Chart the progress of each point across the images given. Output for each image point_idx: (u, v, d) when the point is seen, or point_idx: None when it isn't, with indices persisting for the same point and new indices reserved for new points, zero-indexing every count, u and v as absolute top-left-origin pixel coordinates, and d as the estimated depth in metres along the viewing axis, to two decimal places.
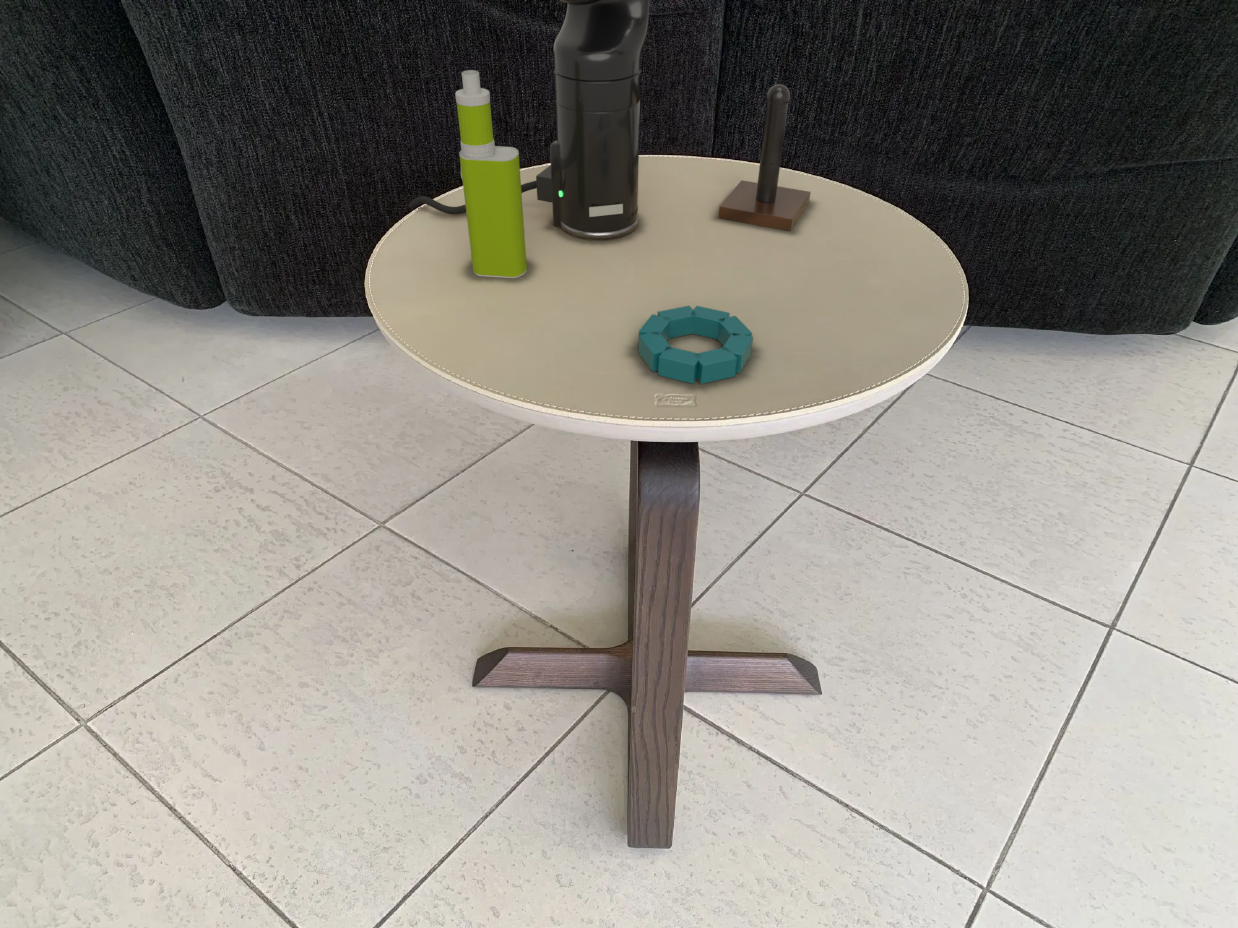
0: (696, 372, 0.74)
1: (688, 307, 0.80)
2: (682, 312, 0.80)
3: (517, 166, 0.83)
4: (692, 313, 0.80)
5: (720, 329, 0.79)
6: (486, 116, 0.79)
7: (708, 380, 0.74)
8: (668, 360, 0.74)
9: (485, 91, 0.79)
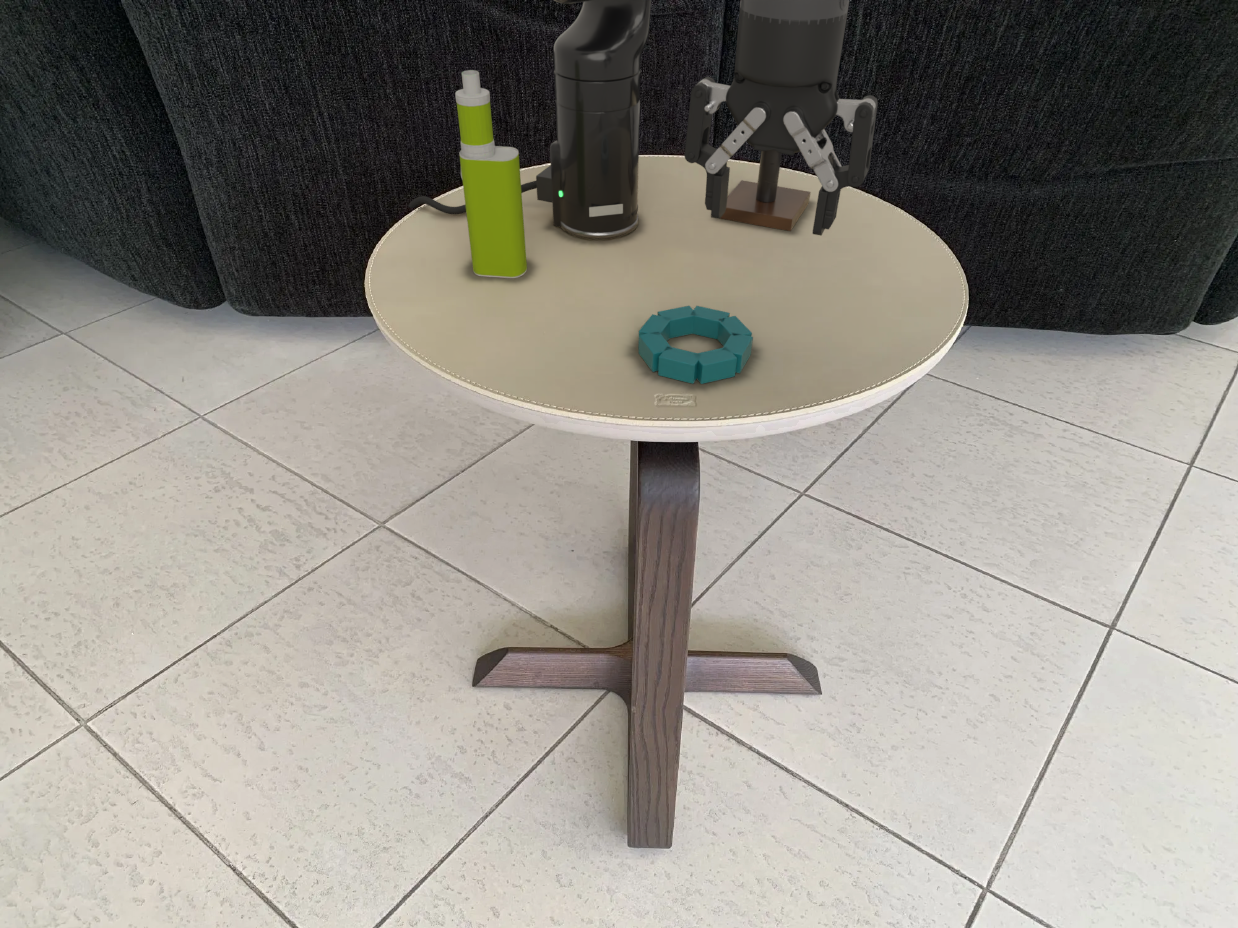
0: (696, 372, 0.74)
1: (688, 307, 0.80)
2: (682, 312, 0.80)
3: (517, 166, 0.83)
4: (692, 313, 0.80)
5: (720, 329, 0.79)
6: (486, 116, 0.79)
7: (708, 380, 0.74)
8: (668, 360, 0.74)
9: (485, 91, 0.79)
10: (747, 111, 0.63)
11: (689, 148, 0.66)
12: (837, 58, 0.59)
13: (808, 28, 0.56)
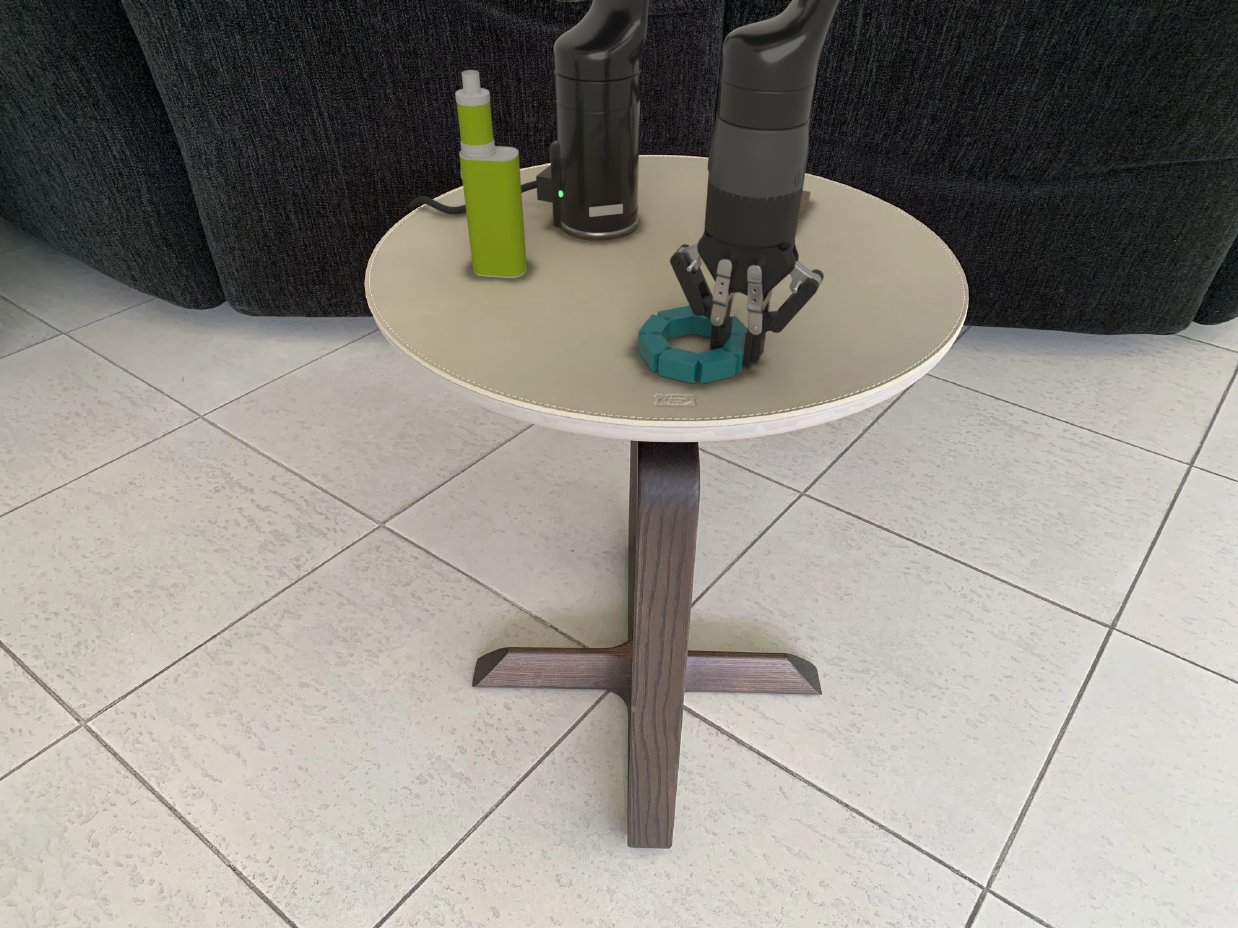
0: (696, 372, 0.74)
1: (688, 307, 0.80)
2: (682, 312, 0.80)
3: (517, 166, 0.83)
4: (692, 313, 0.80)
5: None
6: (486, 116, 0.79)
7: (708, 380, 0.74)
8: (668, 360, 0.74)
9: (485, 91, 0.79)
10: (716, 260, 0.70)
11: (696, 303, 0.73)
12: (794, 223, 0.66)
13: (766, 203, 0.63)
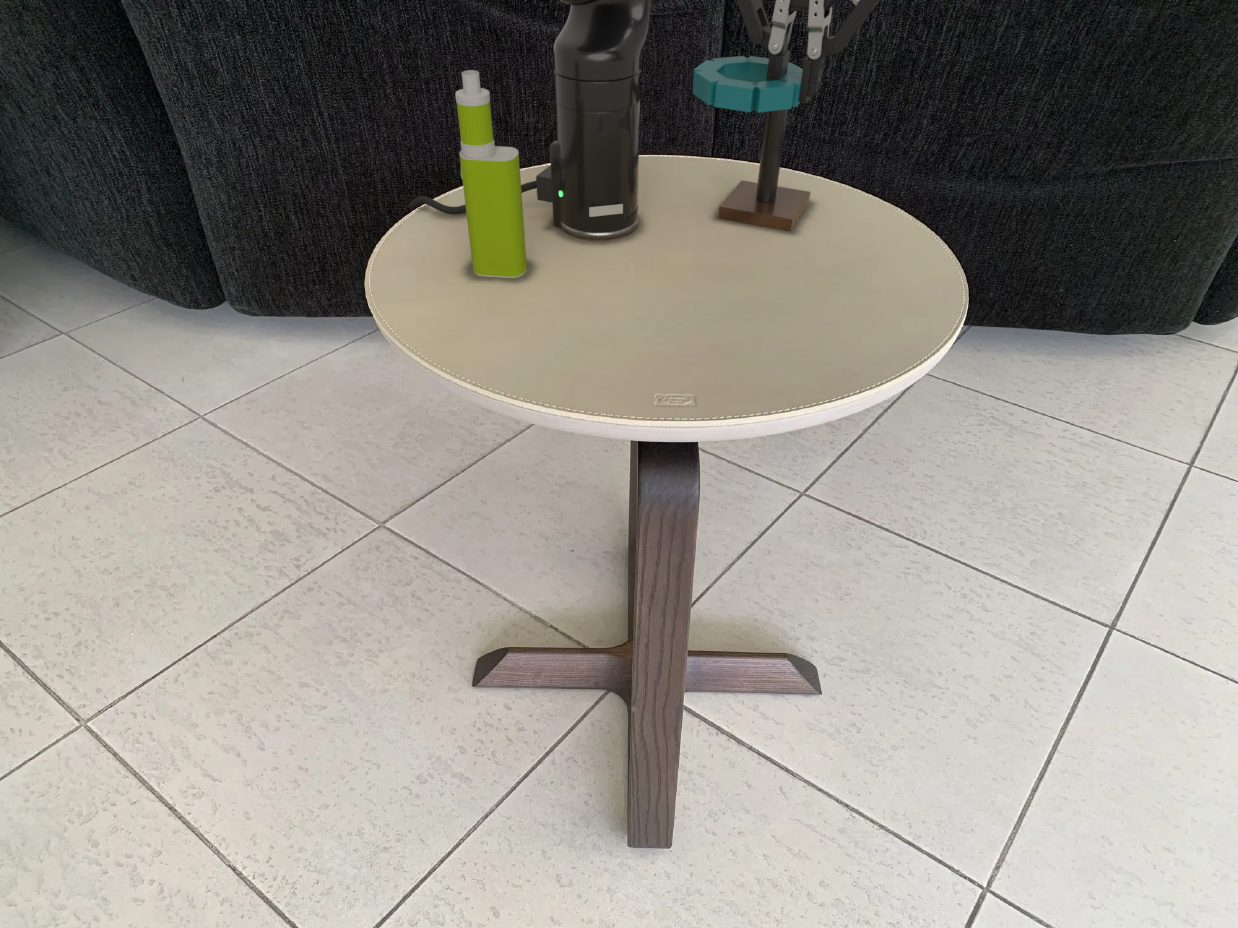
0: (753, 100, 0.74)
1: (742, 57, 0.80)
2: (736, 59, 0.79)
3: (517, 166, 0.83)
4: (747, 60, 0.79)
5: None
6: (486, 116, 0.79)
7: (765, 109, 0.74)
8: (725, 87, 0.73)
9: (485, 91, 0.79)
10: None
11: (754, 29, 0.73)
12: None
13: None
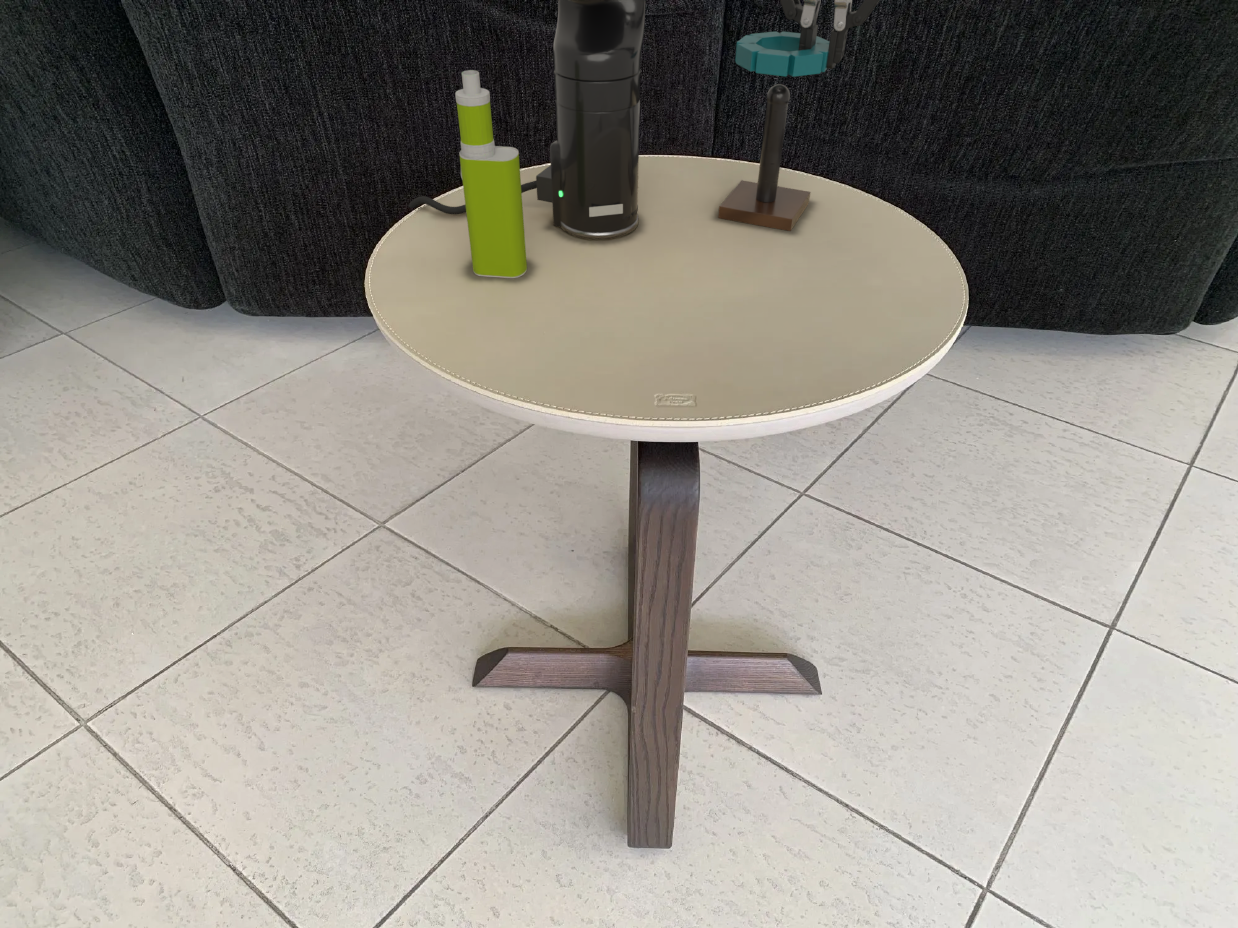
0: (789, 66, 0.88)
1: (775, 32, 0.94)
2: (771, 34, 0.94)
3: (517, 166, 0.83)
4: (780, 35, 0.93)
5: None
6: (486, 116, 0.79)
7: (799, 74, 0.88)
8: (765, 55, 0.87)
9: (485, 91, 0.79)
10: None
11: (789, 7, 0.87)
12: None
13: None
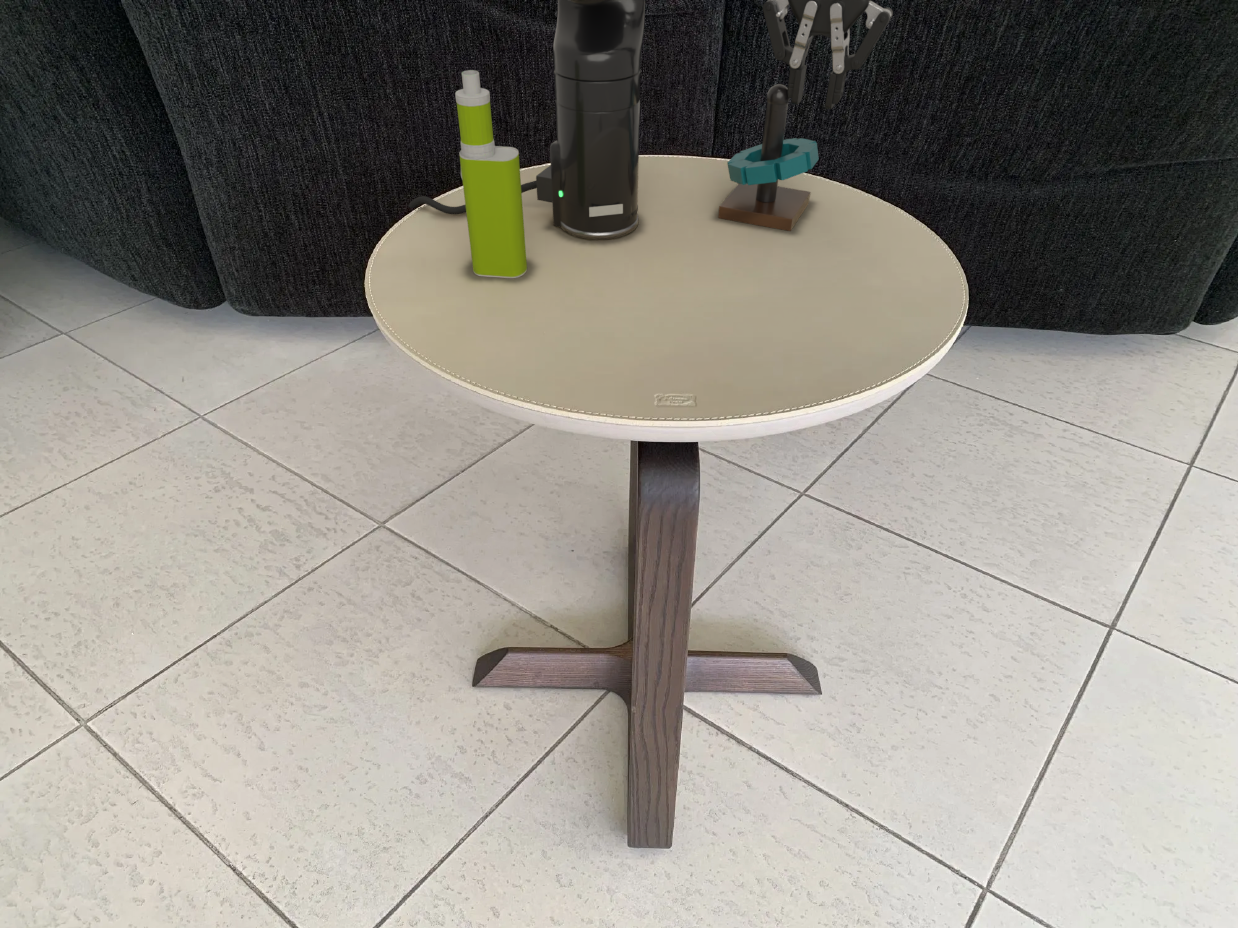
0: (776, 172, 0.95)
1: None
2: (759, 147, 1.02)
3: (517, 166, 0.83)
4: None
5: (790, 149, 1.00)
6: (486, 116, 0.79)
7: (787, 176, 0.95)
8: (752, 168, 0.95)
9: (485, 91, 0.79)
10: (803, 5, 0.87)
11: (778, 48, 0.90)
12: None
13: None
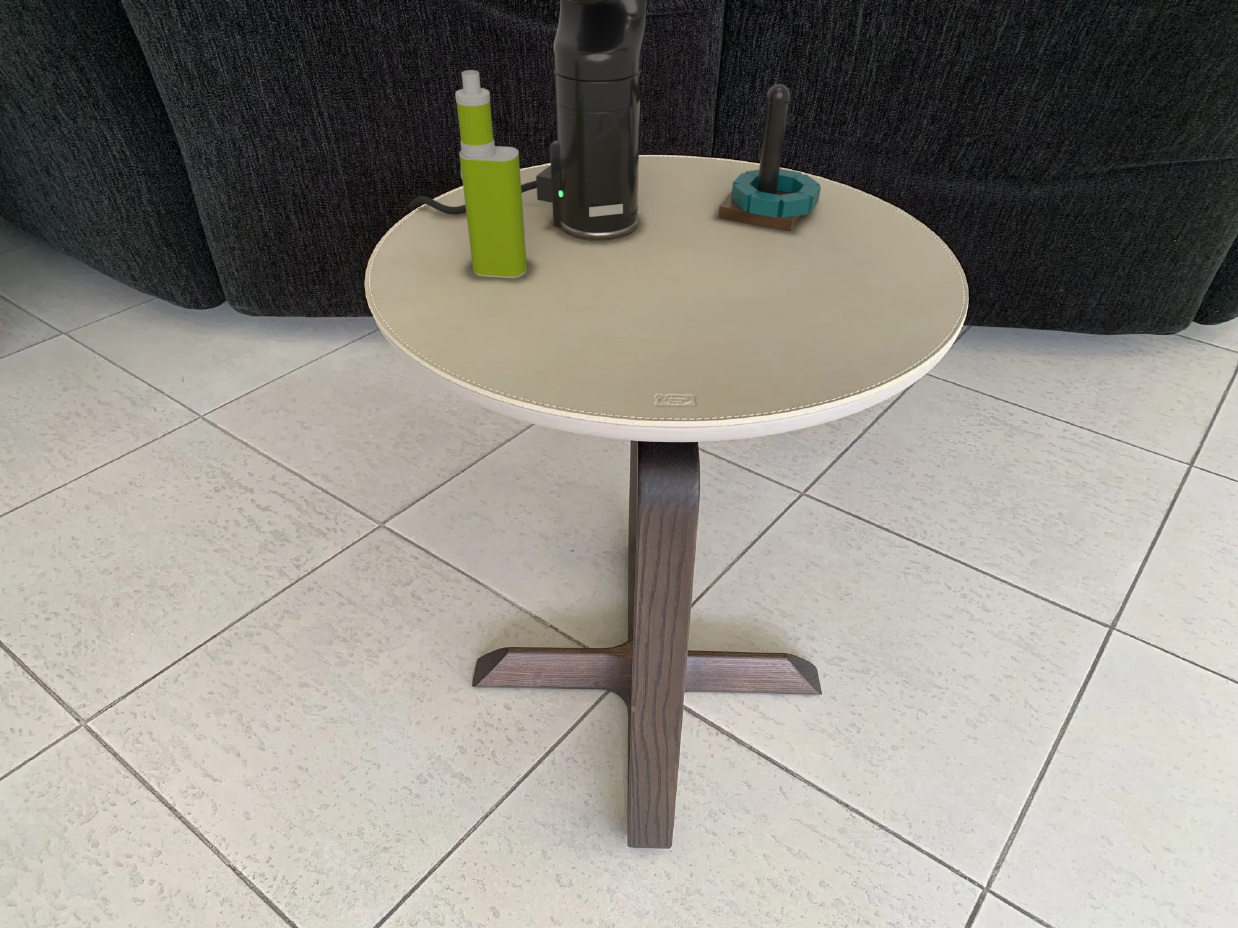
0: (779, 209, 0.97)
1: None
2: None
3: (517, 166, 0.83)
4: None
5: (794, 183, 1.02)
6: (486, 116, 0.79)
7: (788, 215, 0.98)
8: (758, 199, 0.97)
9: (485, 91, 0.79)
10: None
11: None
12: None
13: None
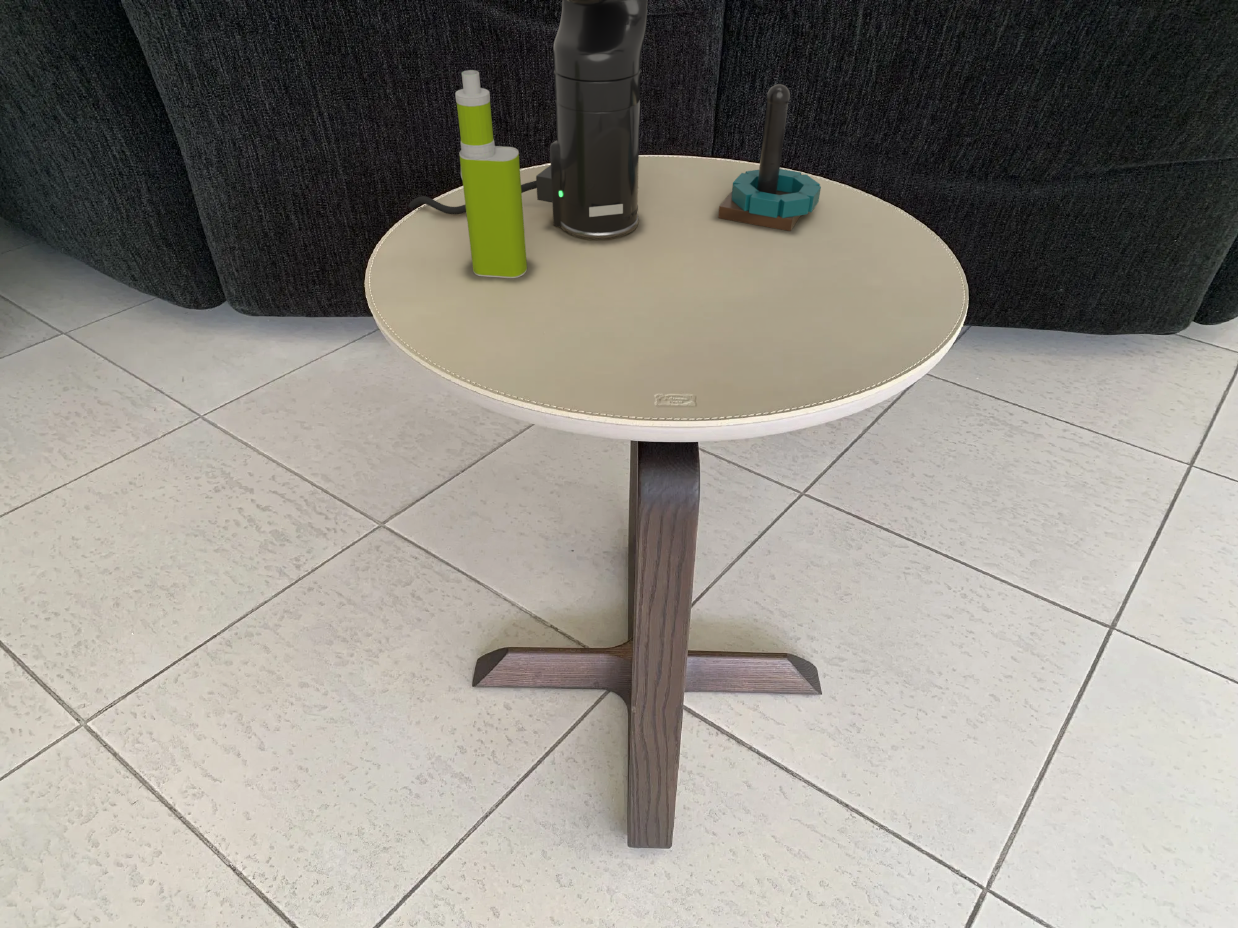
0: (779, 209, 0.97)
1: None
2: None
3: (517, 166, 0.83)
4: None
5: (794, 183, 1.02)
6: (486, 116, 0.79)
7: (788, 215, 0.98)
8: (758, 199, 0.97)
9: (485, 91, 0.79)
10: None
11: None
12: None
13: None
